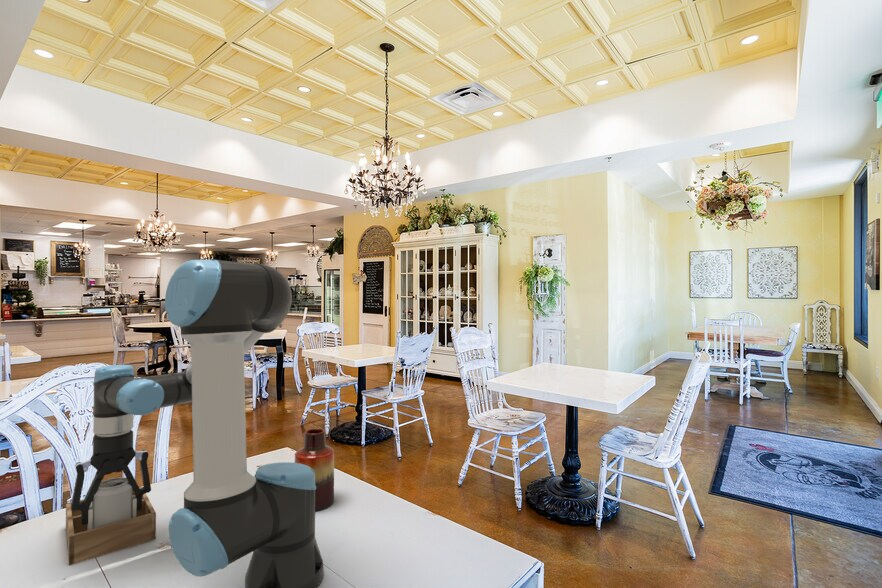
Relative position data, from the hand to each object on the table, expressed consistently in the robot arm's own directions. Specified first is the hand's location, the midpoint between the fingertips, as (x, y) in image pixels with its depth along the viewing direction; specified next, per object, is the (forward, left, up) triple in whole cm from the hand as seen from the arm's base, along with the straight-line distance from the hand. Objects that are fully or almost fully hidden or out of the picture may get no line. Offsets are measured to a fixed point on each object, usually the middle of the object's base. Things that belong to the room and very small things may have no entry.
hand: (112, 530), depth 102 cm
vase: (-11, -45, -4) cm, 46 cm away
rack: (+5, 0, -4) cm, 6 cm away
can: (0, 0, -1) cm, 1 cm away
